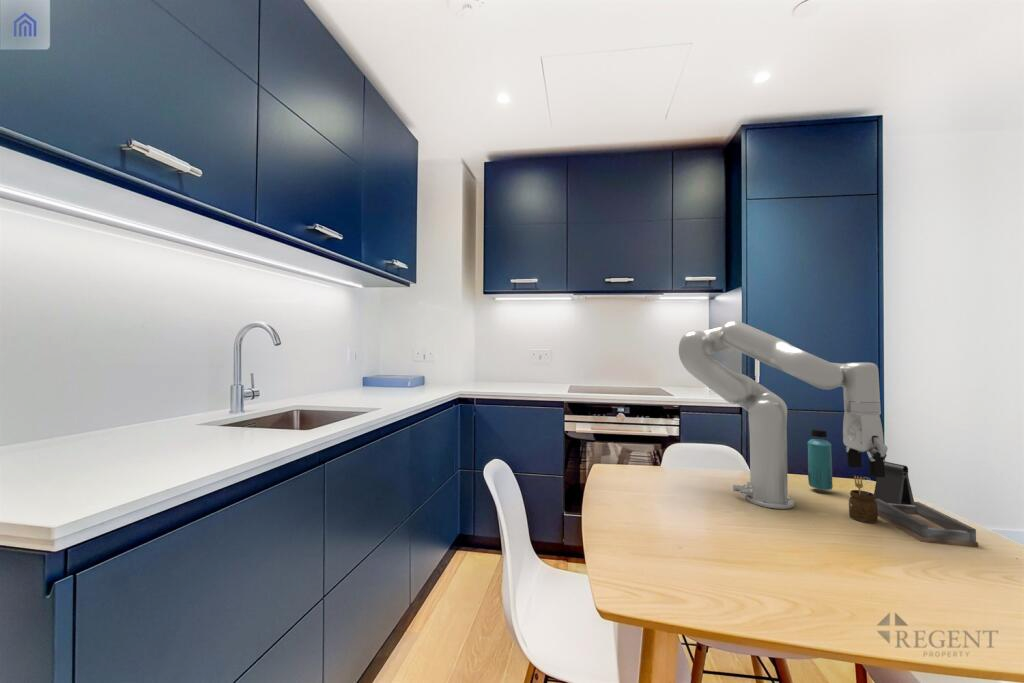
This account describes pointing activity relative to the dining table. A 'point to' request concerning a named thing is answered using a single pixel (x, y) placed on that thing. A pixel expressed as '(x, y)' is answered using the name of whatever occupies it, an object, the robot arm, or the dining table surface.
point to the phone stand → (894, 485)
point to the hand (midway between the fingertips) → (865, 471)
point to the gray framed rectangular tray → (927, 523)
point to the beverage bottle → (819, 461)
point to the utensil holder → (863, 504)
